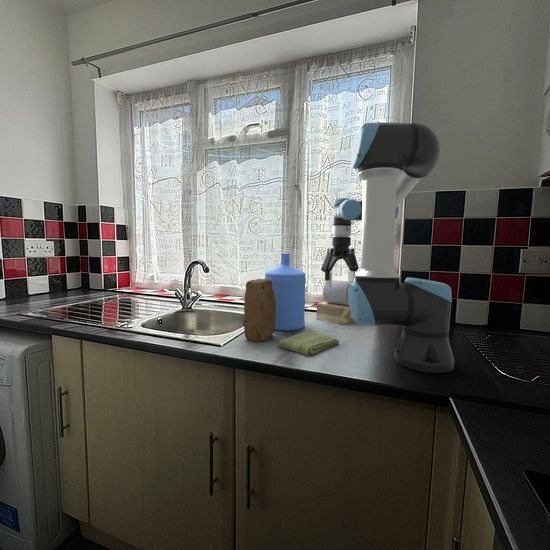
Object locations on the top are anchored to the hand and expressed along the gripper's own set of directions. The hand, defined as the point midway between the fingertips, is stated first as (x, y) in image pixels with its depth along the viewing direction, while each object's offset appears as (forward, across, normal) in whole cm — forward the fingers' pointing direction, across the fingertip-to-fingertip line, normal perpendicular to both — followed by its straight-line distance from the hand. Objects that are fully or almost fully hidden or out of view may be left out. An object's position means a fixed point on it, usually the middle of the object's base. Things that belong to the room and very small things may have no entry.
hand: (339, 287), depth 140 cm
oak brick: (+14, 0, +1) cm, 14 cm away
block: (+14, -43, -4) cm, 45 cm away
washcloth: (+15, -34, -19) cm, 42 cm away
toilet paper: (+7, 0, 0) cm, 7 cm away
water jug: (+14, -26, +4) cm, 30 cm away
